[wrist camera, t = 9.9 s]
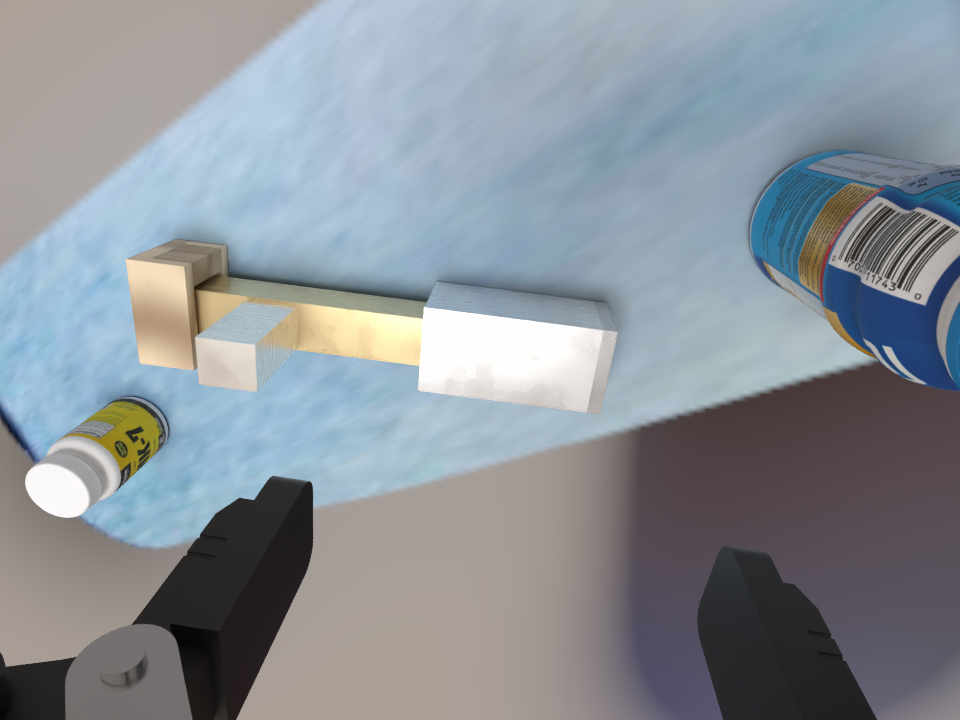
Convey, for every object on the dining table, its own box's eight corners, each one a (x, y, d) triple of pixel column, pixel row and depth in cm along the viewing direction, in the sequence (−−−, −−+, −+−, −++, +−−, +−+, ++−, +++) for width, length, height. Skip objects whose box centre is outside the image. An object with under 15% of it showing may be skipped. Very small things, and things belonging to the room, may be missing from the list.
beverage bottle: (880, 119, 32) (1340, 145, 14) (909, 258, 35) (1322, 430, 17) (725, 186, 34) (953, 286, 16) (764, 313, 37) (996, 521, 19)
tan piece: (189, 272, 38) (94, 320, 29) (472, 308, 37) (457, 367, 29) (193, 316, 39) (103, 375, 31) (467, 351, 38) (451, 420, 30)
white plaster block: (436, 281, 38) (424, 307, 33) (606, 302, 38) (618, 332, 33) (430, 355, 40) (417, 390, 35) (591, 376, 40) (600, 414, 35)
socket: (175, 238, 38) (125, 259, 33) (227, 245, 38) (184, 266, 33) (185, 332, 40) (139, 363, 36) (232, 338, 40) (194, 370, 36)
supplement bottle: (174, 454, 45) (101, 528, 37) (112, 447, 45) (27, 519, 37) (166, 398, 43) (87, 463, 35) (102, 390, 43) (9, 454, 35)
